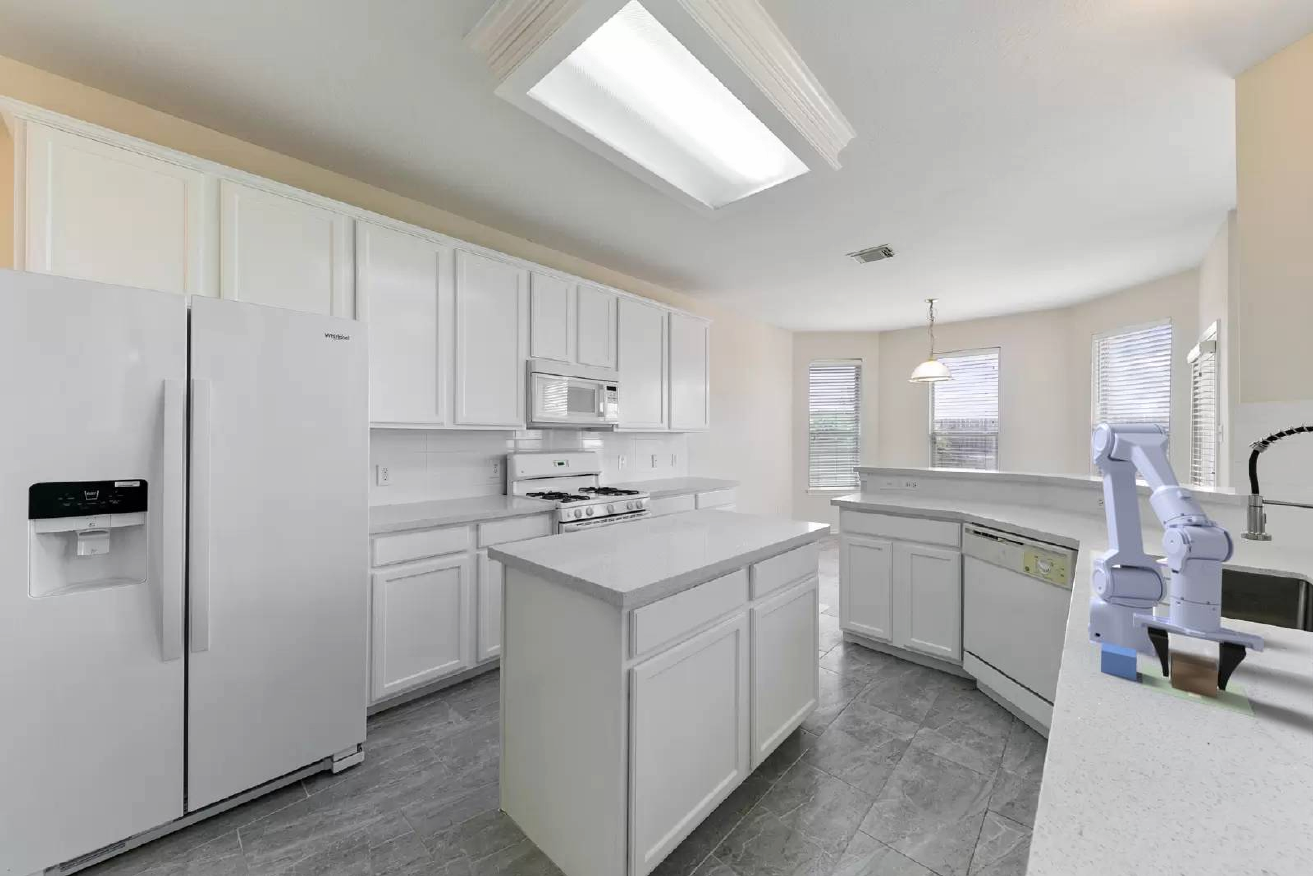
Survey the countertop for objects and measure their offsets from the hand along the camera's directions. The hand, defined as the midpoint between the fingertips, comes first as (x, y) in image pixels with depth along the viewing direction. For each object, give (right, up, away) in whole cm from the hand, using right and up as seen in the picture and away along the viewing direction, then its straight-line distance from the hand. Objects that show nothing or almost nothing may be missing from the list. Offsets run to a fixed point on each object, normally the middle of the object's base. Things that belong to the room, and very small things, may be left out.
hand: (1192, 681), depth 84 cm
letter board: (0, -2, 0) cm, 2 cm away
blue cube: (-7, -2, +5) cm, 9 cm away
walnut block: (0, -1, 0) cm, 1 cm away
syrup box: (+26, -2, +28) cm, 38 cm away
